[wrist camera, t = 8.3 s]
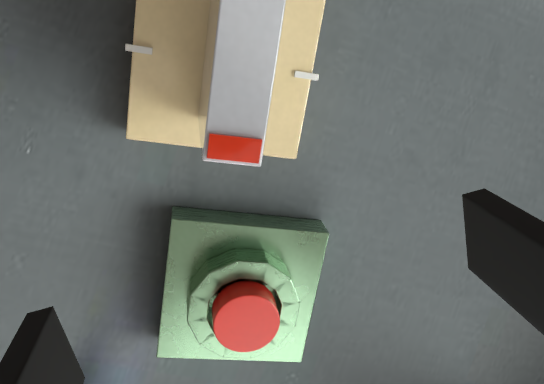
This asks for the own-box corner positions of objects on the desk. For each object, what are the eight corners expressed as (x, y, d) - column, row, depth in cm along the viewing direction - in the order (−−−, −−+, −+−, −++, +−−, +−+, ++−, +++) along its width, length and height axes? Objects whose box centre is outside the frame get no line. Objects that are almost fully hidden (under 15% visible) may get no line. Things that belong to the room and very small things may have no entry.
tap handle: (210, -4, 26) (221, -14, 17) (255, 4, 26) (288, -3, 18) (197, 118, 28) (202, 163, 19) (239, 123, 28) (262, 169, 20)
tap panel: (137, -58, 26) (132, -65, 24) (326, -20, 28) (337, -23, 26) (122, 136, 30) (118, 145, 28) (294, 157, 32) (301, 166, 30)
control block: (172, 205, 31) (170, 231, 28) (320, 220, 34) (337, 245, 30) (158, 337, 35) (154, 376, 31) (294, 343, 37) (307, 380, 33)
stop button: (216, 278, 30) (217, 293, 28) (280, 282, 30) (285, 297, 29) (208, 334, 31) (209, 351, 29) (269, 336, 32) (274, 353, 30)
